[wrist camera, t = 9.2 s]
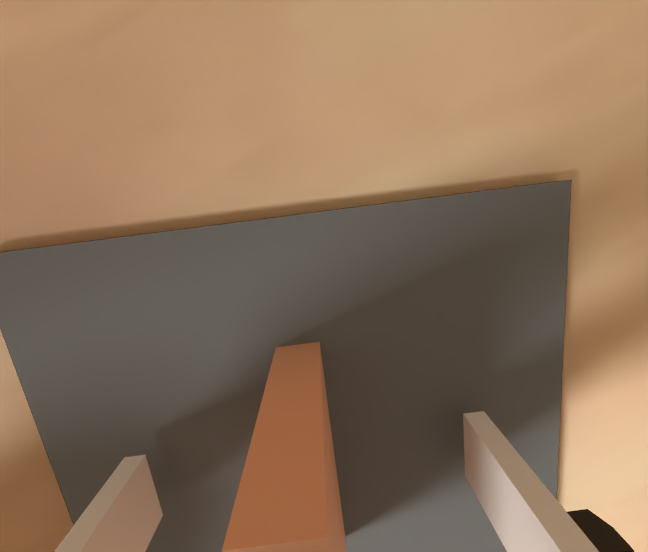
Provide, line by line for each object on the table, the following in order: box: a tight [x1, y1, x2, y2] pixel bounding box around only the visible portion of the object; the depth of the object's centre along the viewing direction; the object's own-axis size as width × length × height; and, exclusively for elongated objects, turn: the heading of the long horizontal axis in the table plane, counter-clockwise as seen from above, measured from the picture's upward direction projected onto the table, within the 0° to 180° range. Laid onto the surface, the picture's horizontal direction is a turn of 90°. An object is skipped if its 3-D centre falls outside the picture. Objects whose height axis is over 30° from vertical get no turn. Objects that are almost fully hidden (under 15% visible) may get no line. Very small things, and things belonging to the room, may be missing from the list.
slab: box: [222, 342, 347, 552], centre depth 9 cm, size 2×9×7 cm, turn 7°
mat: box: [0, 180, 571, 552], centre depth 13 cm, size 20×16×1 cm
